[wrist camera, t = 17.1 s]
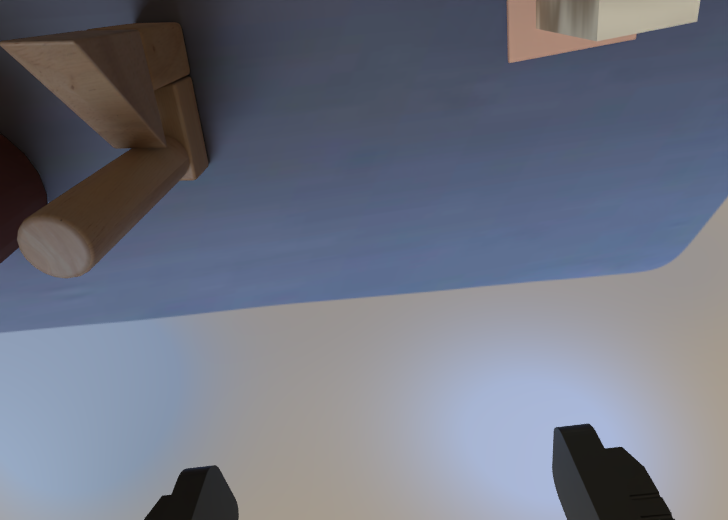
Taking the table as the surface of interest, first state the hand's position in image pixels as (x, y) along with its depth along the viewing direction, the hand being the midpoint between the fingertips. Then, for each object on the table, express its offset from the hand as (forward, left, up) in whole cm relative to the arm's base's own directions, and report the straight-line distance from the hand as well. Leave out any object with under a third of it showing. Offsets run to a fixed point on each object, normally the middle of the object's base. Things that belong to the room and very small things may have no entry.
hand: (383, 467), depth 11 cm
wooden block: (-10, -12, -30) cm, 34 cm away
